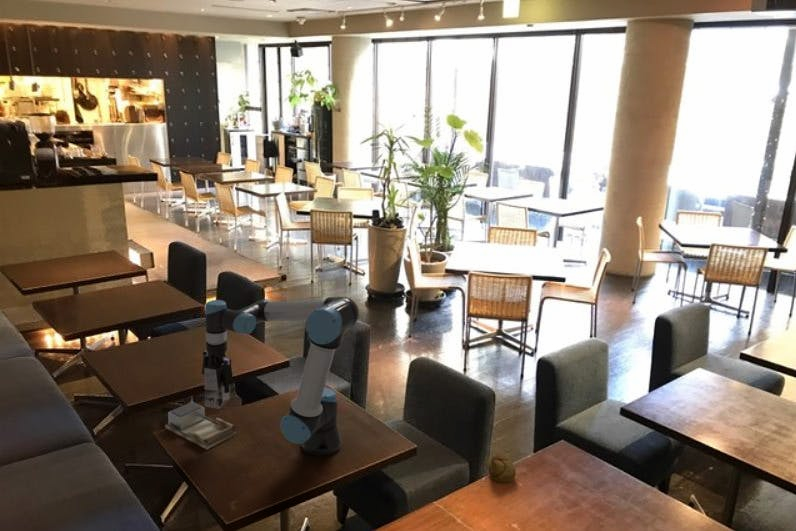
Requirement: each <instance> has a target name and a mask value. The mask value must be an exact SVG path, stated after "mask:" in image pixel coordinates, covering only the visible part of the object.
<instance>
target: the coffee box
mask: <svg viewBox="0 0 796 531" xmlns="http://www.w3.org/2000/svg"><path fill="white" fill-rule="evenodd" d="M221 365H223V364H221ZM221 365H220V366H221ZM222 370H223V367H221V368H218V367H217V366H216V365H215V364H209V365H207V366H206V367H205V368H204V374H203V375H204V406H205V407H207V408H212V409H216V410H217V409H218V410H220V409H221V408H222V407H223V406H225V404H226V403H227V402H228V401H229V400H231V385H229V399H227V400H225V401H222V385H223V382H222Z"/></svg>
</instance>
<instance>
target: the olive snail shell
mask: <svg viewBox="0 0 796 531" xmlns="http://www.w3.org/2000/svg"><path fill="white" fill-rule="evenodd" d="M487 468H488V474H489V477H491V479H492V480H493V481H495V482H498V483H502V484H506V483H509V482H512V480H514V479H515V477H516V468H515V466H514V464H513V462H512V460H511V458H510V457H508V456H507V455H506V454H504V453H501V454H500V453H499V454H494V455H492V456H491V458H490V459H489V461H488V467H487Z"/></svg>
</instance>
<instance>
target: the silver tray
mask: <svg viewBox="0 0 796 531" xmlns="http://www.w3.org/2000/svg"><path fill="white" fill-rule="evenodd" d="M164 428H165V429H167V430H169V431H171V432H173V433H175V434H176V435H178V436H180V437H182V438H184V439H186V440H188V441H189V442H191V443H193V444H195V445H198V446H199V447H201V448H203V449H205V450H210V449H211V448H213V447H215V446H216V445H219V444H220V443H222V442H224V441H226V440H228V439H230V438H232V437H235V436H236V435H237V431H236V426H235V425H234V424H233V423H230V422H228V421H226V420H224V419H222V418H219V417H216V418H215V419H213V418H210V417H208V416H206V415H205V419H203V420H201V421H199V422H197V423H195V424H193V425H190V426H188V427H186V428H184V429H182V430H180V429H178V428H176V427H174V426H172V425H170V424H169V423H166V424H165V427H164Z"/></svg>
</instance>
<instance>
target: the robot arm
mask: <svg viewBox="0 0 796 531" xmlns="http://www.w3.org/2000/svg"><path fill="white" fill-rule="evenodd" d="M204 307H205V309H204V317H205V347H206V348H205V350H204V351H202V356H203V357H202V368H201V374H202V375H204V368H205V367H206V366H207V365H209V364H215V365H216V366H217V367H218V368H221V367H223V370H222V382H223V385H222V401H225V400H227V399H229V385H230V386H231V385H232V384H234V376H233V370H232V359H231V358H227V356H226V352H227V351H228V341H227V337H228V333H227V331H230V332H234V333H238V334H244V335H249V334H252V333H253V331H254V330H255V328H256V325H258V324H259V323H265V322H267V323H269V322H270V323H271V322H306V323H305V331H306V332H307V335H308V336H307V340H308V341H309V342H308V343H310V344H309V345H310V346H309V349H308V353H307V356H306V361H305V364H304V365H305V366H304V368H303V372H302V377H301V379H300V384H299V387H298V391H297V395H296V397H294V398H292V399H291V402H290V404H289V405H290V406H289V409H288V412H287V413H286V414H285V415H284V416H283V417H282V419H281V420H280V423H279V425H280V426H279V427H280V431H281V433H282V435H283V436H284V438H285V439H287V441H289V442H291V443H293V444H295V445H296V444H297V445H301V448H302V450H303V451H304V452H306V454H308V455H312V456H317V457H318V456H319V457H321V456H322V457H323V456H329V455H332V454H335V453H336V452H338V451H339V450H340V449H341V447H342V438H341V435H340V433H339V432H340V431H339V428H338V424H337V421H338V398H337V397H338V396H337V392H336V391H335V390H333V389H331V388H328V387H326V383H327V380H328V376H329V373H330V369H331V366H332V362H333V359H334V355H335V351H336V350H338V349H340V347H341V346H342V343H343V340H344V335H345V333H346V332H348V330H350V329H352V328H353V327H354V326H355V325H356V324H357V322H358V319H359V316H360V311H359V307H358V305H357V303H356V302H355V301H354V300H353V299H351V298H349V297H347V296H330V297H326V298H325V299H321V300H320V299H319V300H315V299H314V300H292V301H291V300H288V301H287V300H286V301H271V300H269V299H265V298H264V299H261V300H260V299H259V300H258V301H255V302H254V303H251V304H250V305H248V306H246V307H243V308H241V309H238V310H233V309H230V308H228V307H227V303H226V301H224V300H222V299H221V300H220V299H214V300H209V301H208V302H206V304H205V306H204ZM221 364H223V365H221ZM220 365H221V366H220ZM229 400H230V399H229Z"/></svg>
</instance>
